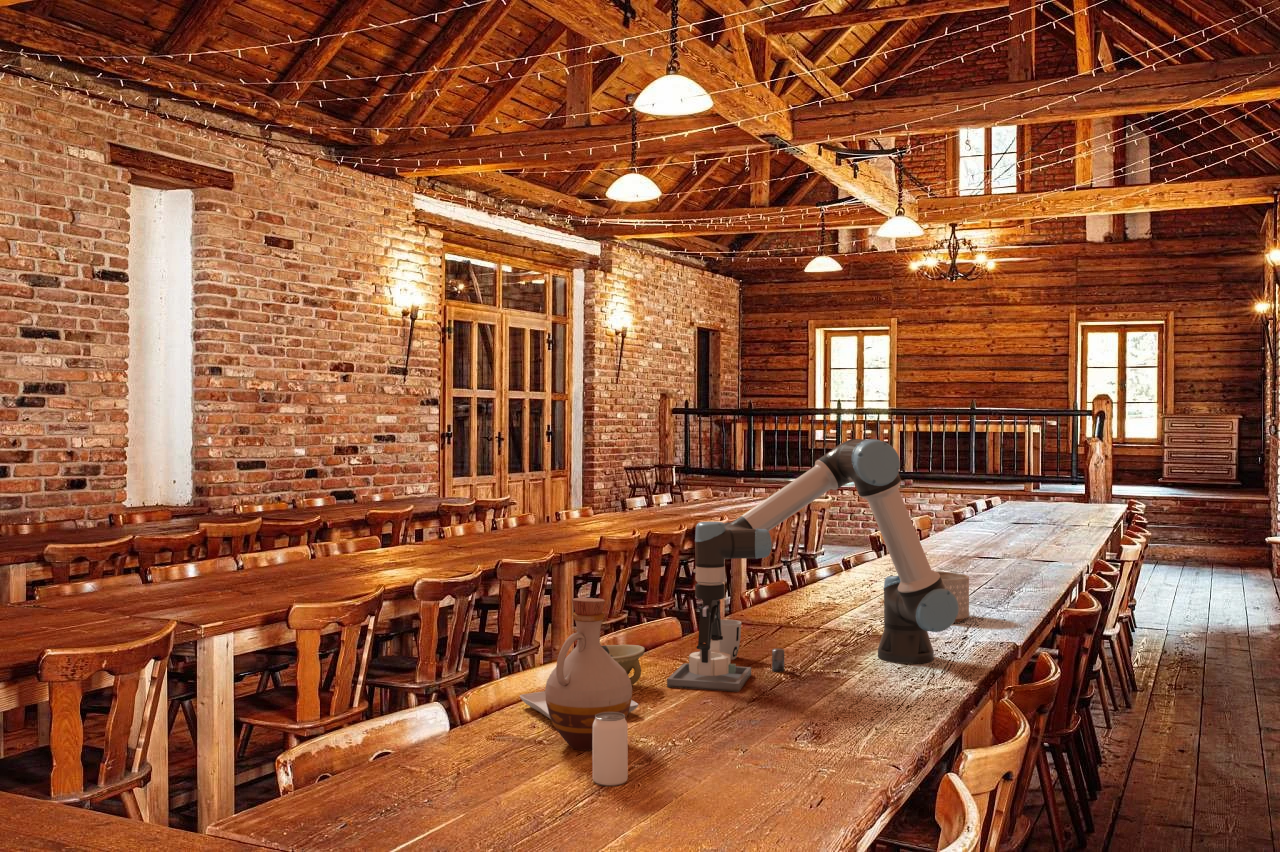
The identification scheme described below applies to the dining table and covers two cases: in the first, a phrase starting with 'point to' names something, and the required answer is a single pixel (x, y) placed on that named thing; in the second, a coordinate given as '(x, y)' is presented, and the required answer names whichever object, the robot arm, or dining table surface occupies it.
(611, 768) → the can
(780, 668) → the capsule
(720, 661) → the ring
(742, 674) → the tray
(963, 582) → the planter
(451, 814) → the dining table surface
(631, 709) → the salad plate
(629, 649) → the bowl
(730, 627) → the cup
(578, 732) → the jug
